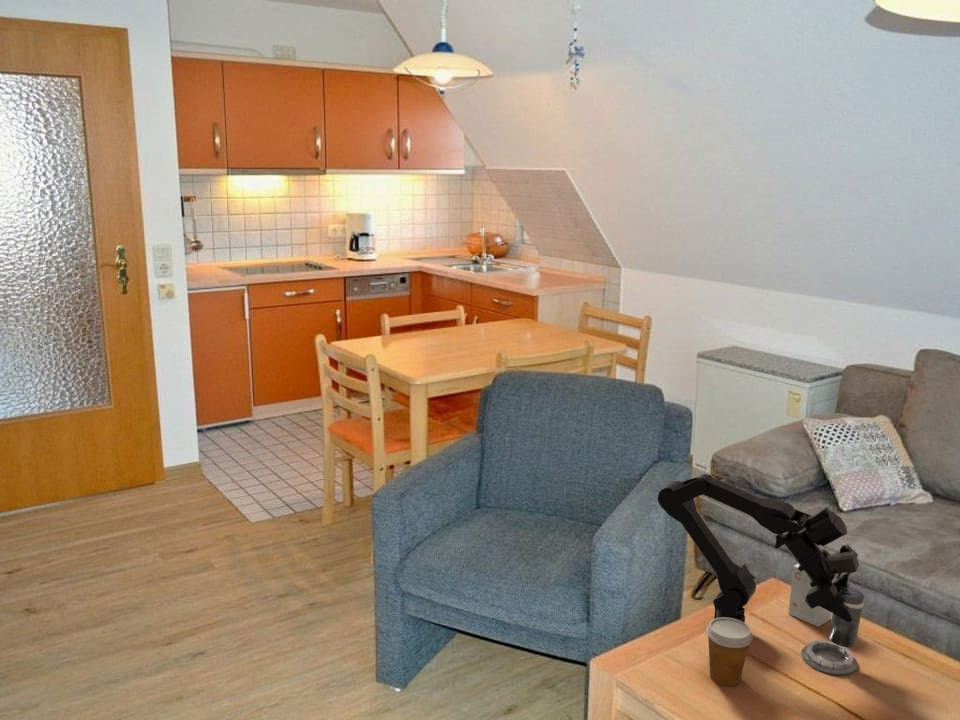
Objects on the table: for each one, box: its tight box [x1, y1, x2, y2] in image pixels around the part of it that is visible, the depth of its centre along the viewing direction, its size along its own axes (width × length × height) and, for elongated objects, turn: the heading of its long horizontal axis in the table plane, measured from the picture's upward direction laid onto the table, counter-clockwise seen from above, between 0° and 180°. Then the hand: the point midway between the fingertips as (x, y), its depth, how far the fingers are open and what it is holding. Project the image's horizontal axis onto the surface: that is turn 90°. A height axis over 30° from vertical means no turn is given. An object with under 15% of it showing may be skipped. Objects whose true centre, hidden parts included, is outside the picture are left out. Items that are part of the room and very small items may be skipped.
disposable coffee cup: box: [705, 617, 754, 687], centre depth 180 cm, size 10×10×12 cm
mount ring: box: [800, 639, 858, 676], centre depth 189 cm, size 12×12×2 cm
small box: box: [788, 563, 833, 628], centre depth 206 cm, size 8×6×13 cm
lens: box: [828, 586, 865, 648], centre depth 185 cm, size 6×6×12 cm
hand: (853, 615), depth 184 cm, fingers closed on lens, 6 cm apart
